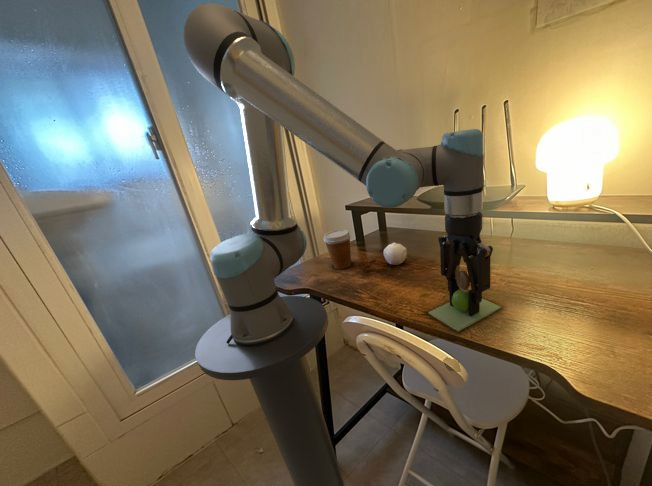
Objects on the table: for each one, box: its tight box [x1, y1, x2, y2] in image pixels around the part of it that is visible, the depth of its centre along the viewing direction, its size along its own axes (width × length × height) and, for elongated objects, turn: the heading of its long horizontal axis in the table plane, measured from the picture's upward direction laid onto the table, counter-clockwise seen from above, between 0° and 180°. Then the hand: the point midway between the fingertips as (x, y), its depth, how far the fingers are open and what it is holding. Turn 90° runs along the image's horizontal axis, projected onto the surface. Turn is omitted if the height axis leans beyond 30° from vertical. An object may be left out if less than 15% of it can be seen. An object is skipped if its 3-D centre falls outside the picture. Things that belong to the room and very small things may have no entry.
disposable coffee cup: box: [323, 229, 352, 270], centre depth 106 cm, size 10×10×12 cm
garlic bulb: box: [382, 242, 408, 266], centre depth 102 cm, size 8×8×8 cm
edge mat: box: [427, 297, 502, 333], centre depth 73 cm, size 14×10×1 cm
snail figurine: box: [452, 264, 471, 312], centre depth 70 cm, size 5×6×12 cm
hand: (464, 308), depth 72 cm, fingers closed on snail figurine, 5 cm apart
